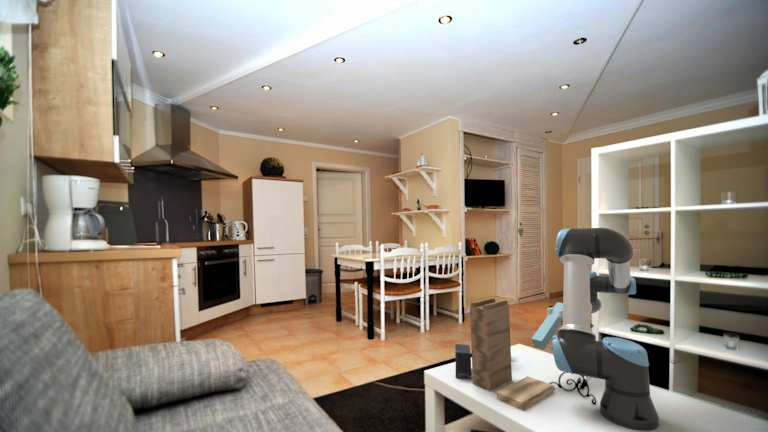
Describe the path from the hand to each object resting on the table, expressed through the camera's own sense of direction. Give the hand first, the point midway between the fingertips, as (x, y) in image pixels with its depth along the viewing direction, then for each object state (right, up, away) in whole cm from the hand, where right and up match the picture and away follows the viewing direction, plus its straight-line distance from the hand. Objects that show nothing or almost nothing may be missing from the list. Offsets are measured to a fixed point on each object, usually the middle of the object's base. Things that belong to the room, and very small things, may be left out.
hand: (553, 313), depth 140 cm
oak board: (-18, -25, -17) cm, 35 cm away
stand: (-27, -26, -5) cm, 38 cm away
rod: (-1, -6, -1) cm, 6 cm away
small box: (-36, -27, +4) cm, 45 cm away
